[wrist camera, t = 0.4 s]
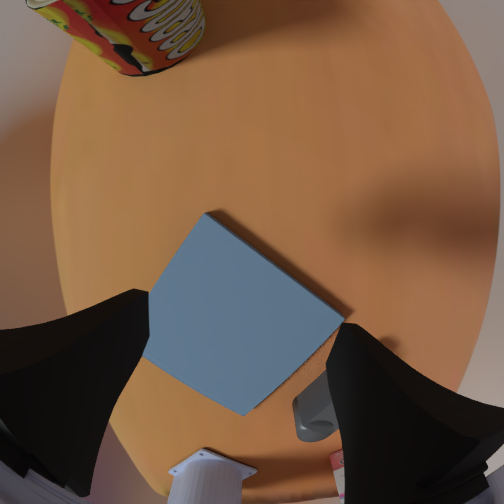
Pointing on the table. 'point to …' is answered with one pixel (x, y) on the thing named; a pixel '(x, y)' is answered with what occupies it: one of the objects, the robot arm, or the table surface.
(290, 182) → the table surface
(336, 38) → the table surface
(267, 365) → the blue-grey mat
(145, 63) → the beverage can
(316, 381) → the dark grey rounded block
